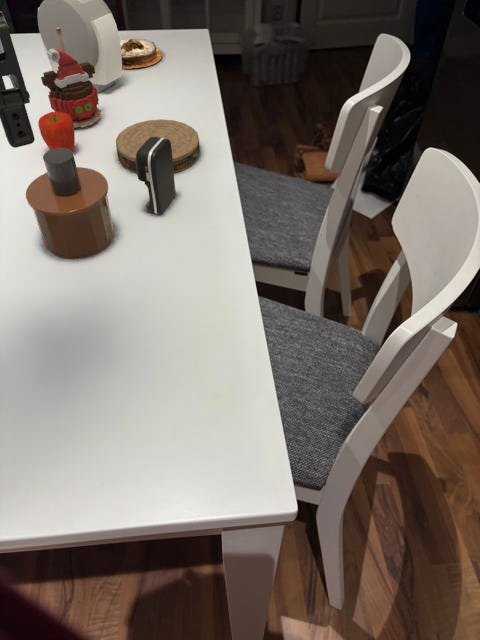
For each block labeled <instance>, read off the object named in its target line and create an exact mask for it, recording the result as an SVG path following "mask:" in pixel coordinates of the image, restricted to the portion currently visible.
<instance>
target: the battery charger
mask: <svg viewBox="0 0 480 640" xmlns="http://www.w3.org/2000/svg"><path fill="white" fill-rule="evenodd" d="M136 169H137V173H136V174H137V179H138V181H139V182H144V185H145V187H147V191H148V195H149V201H148V202H147V204H146V206H145V207H146V210H147V211H148V212H150V213H154V214H156V215H161V214H162V213H163V212H164V211H165V210H166V209H167V207H168V206H169V204H170V203H171V201H172V200H173V199H174V197H175V196H176V194H177V192H176V184H175V182H176V181H175V173H174V169H173V157H172V148H171V143H170V140H168V139H166V138H160V137H150V138H149V139H148V140H147V141H146V142H145V143H144V144H143V145H142V146H141V147H140V149H139V150H138V151H137V153H136Z"/></svg>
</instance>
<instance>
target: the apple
mask: <svg viewBox="0 0 480 640" xmlns="http://www.w3.org/2000/svg"><path fill="white" fill-rule="evenodd" d="M37 122H38V123H37V124H38V129H39V133H40V136H41V138H42V140H43V142H44V143H45V144H46V146H47V148H48V149H49V150H52V149H55V148H66V149H69V150H71V151H72V152H73V150H74V148H75V143H76V141H75V139H76V137H75V135H76V134H75V128H74V124H73V121H72V118H71V117H70V115H68V114H67V113H62V112H55V111H51V112H48V113H45V114H43V115H42V116H41V117H39V119H38V121H37Z"/></svg>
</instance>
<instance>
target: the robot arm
mask: <svg viewBox="0 0 480 640" xmlns="http://www.w3.org/2000/svg"><path fill="white" fill-rule="evenodd" d="M11 33H12V32H11V28H10V26H9V25H8V23H7V20H6V18H5V15H4V13H3V11H1V10H0V123H1V126H2V129H3V131H4V134H5V138H6V140H7V142H8V144H9V146H10V147H12V148H15V149H17V148H20V147H24V146H29V145H31V144H33V143H34V142H35V140H36V139H35V135H34V131H33V128H32V124H31V121H30V118H29V114H28V110H27V108H26V104H30V103H31V100H30V98H31V95H30V93H29V91H28V89H27V86H26V84H25V83H26V82H25V79H24V77H23V72H22V70H21V67H20V62H19V60H18V56H17V53H16V50H15V46H14V44H13V39H12V36H11ZM3 77H8V78H9V80H10V82H11V84H12V88H7V87H6V84H5V81H4V78H3Z"/></svg>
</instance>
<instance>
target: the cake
mask: <svg viewBox="0 0 480 640" xmlns="http://www.w3.org/2000/svg"><path fill="white" fill-rule="evenodd" d="M56 32H57V36H58V41H59V45H60V49H61V51H60V50H59V49H58V50H54V49H49V50H48V51H49V52H47V53H46V55H47V54H48V56H47V59H48V58H50V59H51V60H52V61H53V62H56V61H58V63H59V66H58V70H57V72H56V71H54V70H49V71H45V72H43V76H41V77H40V79H41V83H42V86H44V87H46V88H48V89H49V91H48V100H49V104H50V107H51V109H52V110H53V112H62V113H67V114H68V115H70V117H71V118H72V121H73V124H74V129H75V128H79V127H81V128H84V127H89V126H91V125H94V123H95V122H99V120H100V118H101V117H102V115H101V114H102V111H101V109H100V108H99V107H98V105H99V101H100V100H99V94H98V92H97V89H96V88H95V87H94V86H93V85H92V82H91V81H89V80H88V79H89V78H93V75H92V74H95V69H94V66H93V65H90V63H88V62H85V63H81V64H79V63H78V62H77V60H75V59H74V58H73V57H71V56H70V55H68V54H67V53H66V51H65V47H64V42H63V38H62V33H61V29H60V28H59V27H58V28H56Z"/></svg>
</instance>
